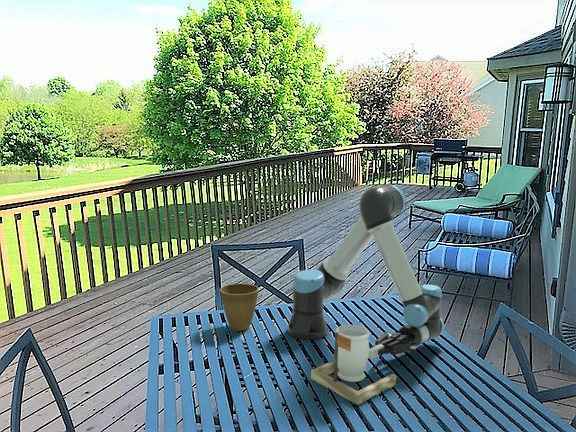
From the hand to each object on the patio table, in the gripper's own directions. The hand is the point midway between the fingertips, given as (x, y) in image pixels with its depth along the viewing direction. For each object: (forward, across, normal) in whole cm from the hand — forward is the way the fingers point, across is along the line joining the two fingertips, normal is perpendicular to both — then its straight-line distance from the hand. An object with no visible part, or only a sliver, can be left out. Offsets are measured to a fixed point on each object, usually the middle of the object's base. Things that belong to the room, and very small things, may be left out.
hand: (369, 354), depth 148 cm
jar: (+5, +3, -7) cm, 9 cm away
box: (+6, 0, -7) cm, 9 cm away
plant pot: (+9, +58, -7) cm, 59 cm away
